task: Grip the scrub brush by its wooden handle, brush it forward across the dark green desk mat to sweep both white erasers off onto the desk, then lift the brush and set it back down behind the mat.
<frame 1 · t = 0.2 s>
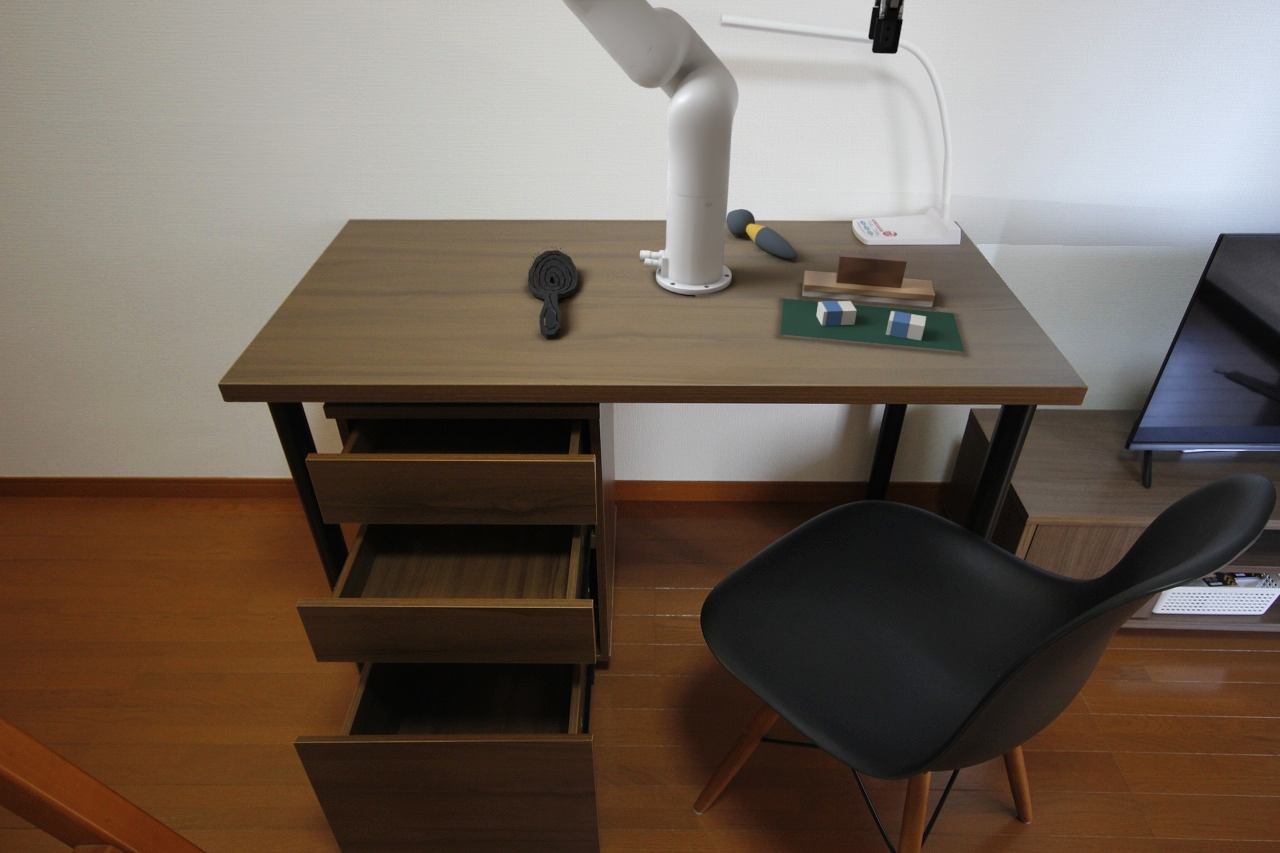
hand: (881, 46, 105), 36 cm above the table, tool pointing down, fingers open, 9 cm apart
eraser right: (904, 332, 115), resting on desk mat
desk mat: (868, 326, 117), on the table
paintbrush: (759, 245, 143), on the table
eraser left: (835, 320, 118), resting on desk mat
scrub brush: (865, 296, 125), on the table
hairbrush: (552, 301, 124), on the table
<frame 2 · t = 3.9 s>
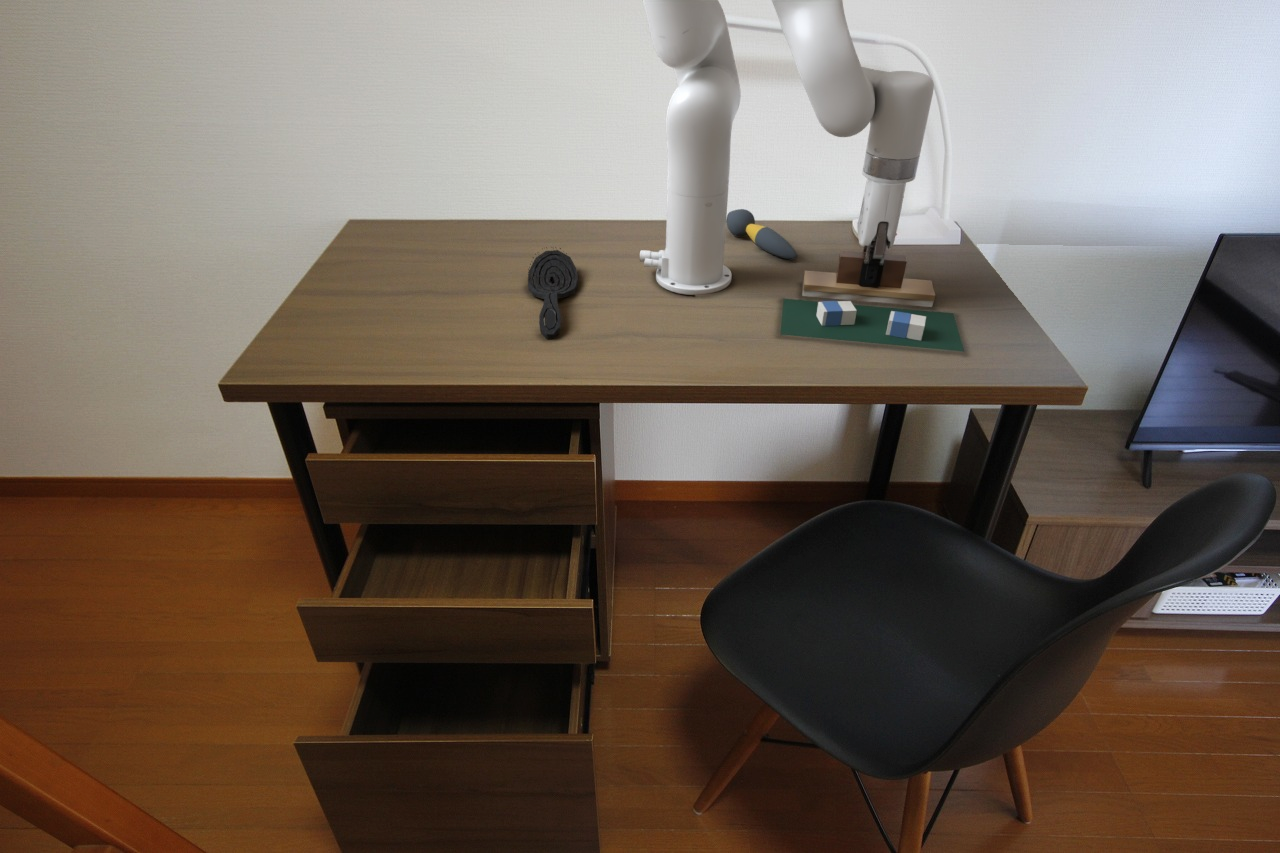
hand: (868, 280, 124), 3 cm above the table, tool pointing down, fingers closed on scrub brush, 2 cm apart
scrub brush: (865, 296, 125), on the table, touching gripper
everything else where it was.
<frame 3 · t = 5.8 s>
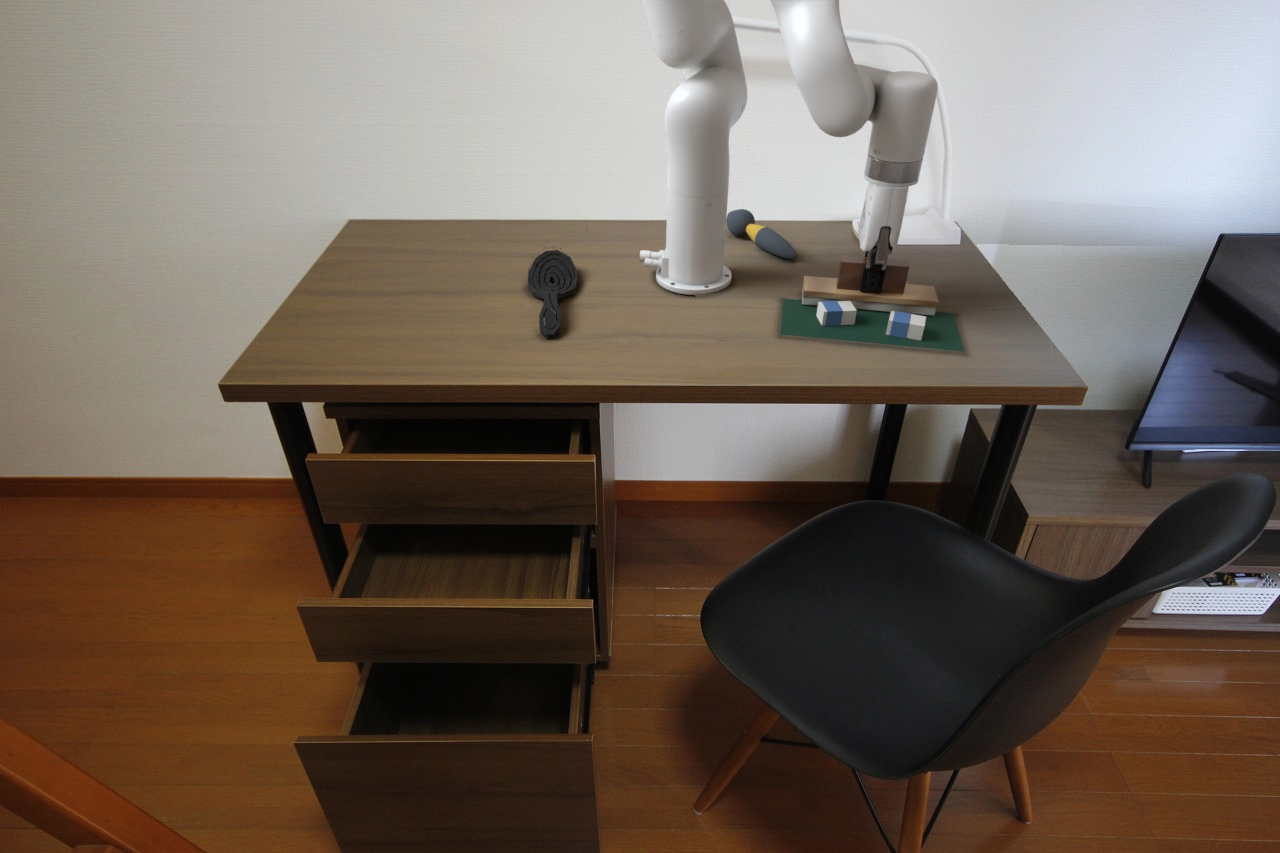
hand: (869, 286, 121), 3 cm above the table, tool pointing down, fingers closed on scrub brush, 2 cm apart
scrub brush: (866, 302, 122), point 1 cm above the table, touching gripper
everything else where it was.
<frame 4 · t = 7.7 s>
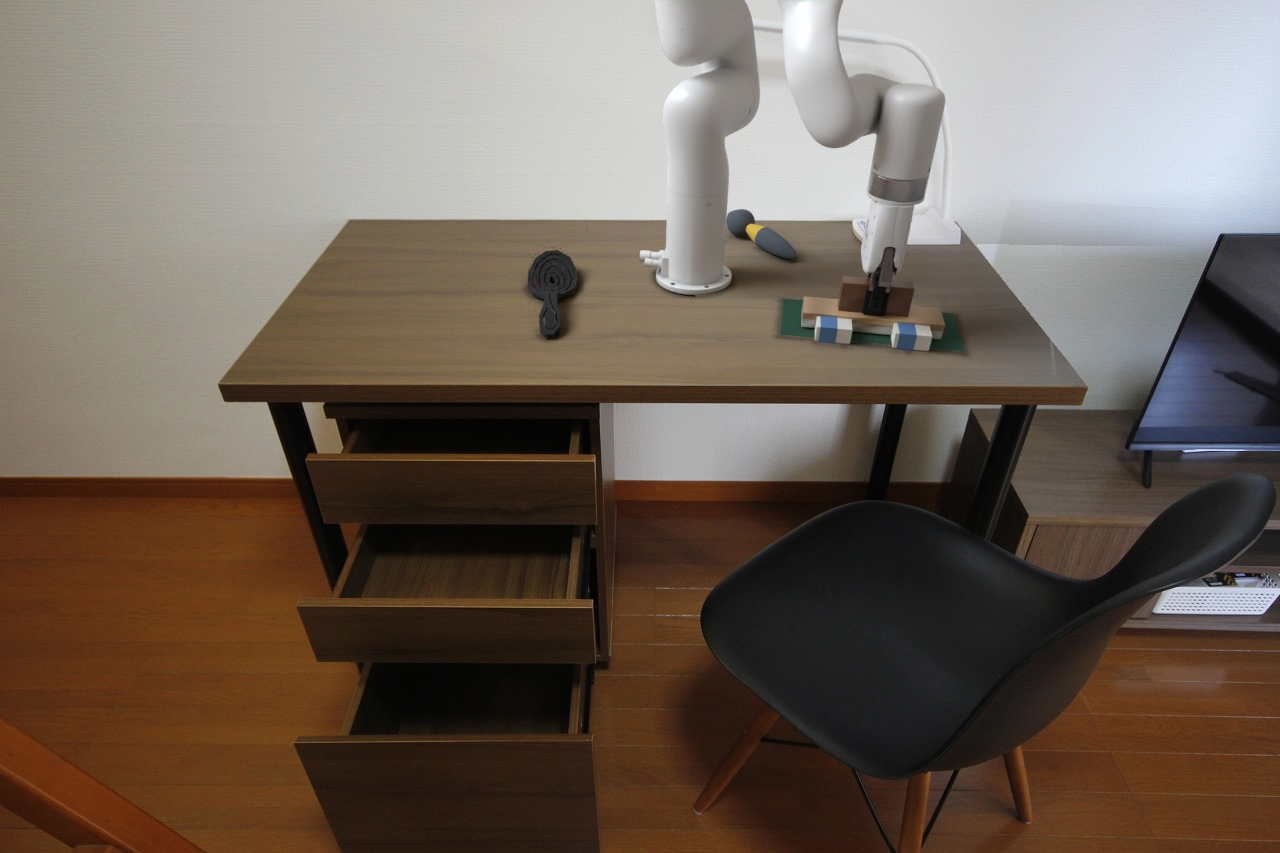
hand: (872, 308, 115), 3 cm above the table, tool pointing down, fingers closed on scrub brush, 2 cm apart
eraser right: (909, 344, 112), on the table
eraser left: (832, 337, 114), on the table, touching desk mat
scrub brush: (869, 325, 116), point 1 cm above the table, touching gripper
everything else where it was.
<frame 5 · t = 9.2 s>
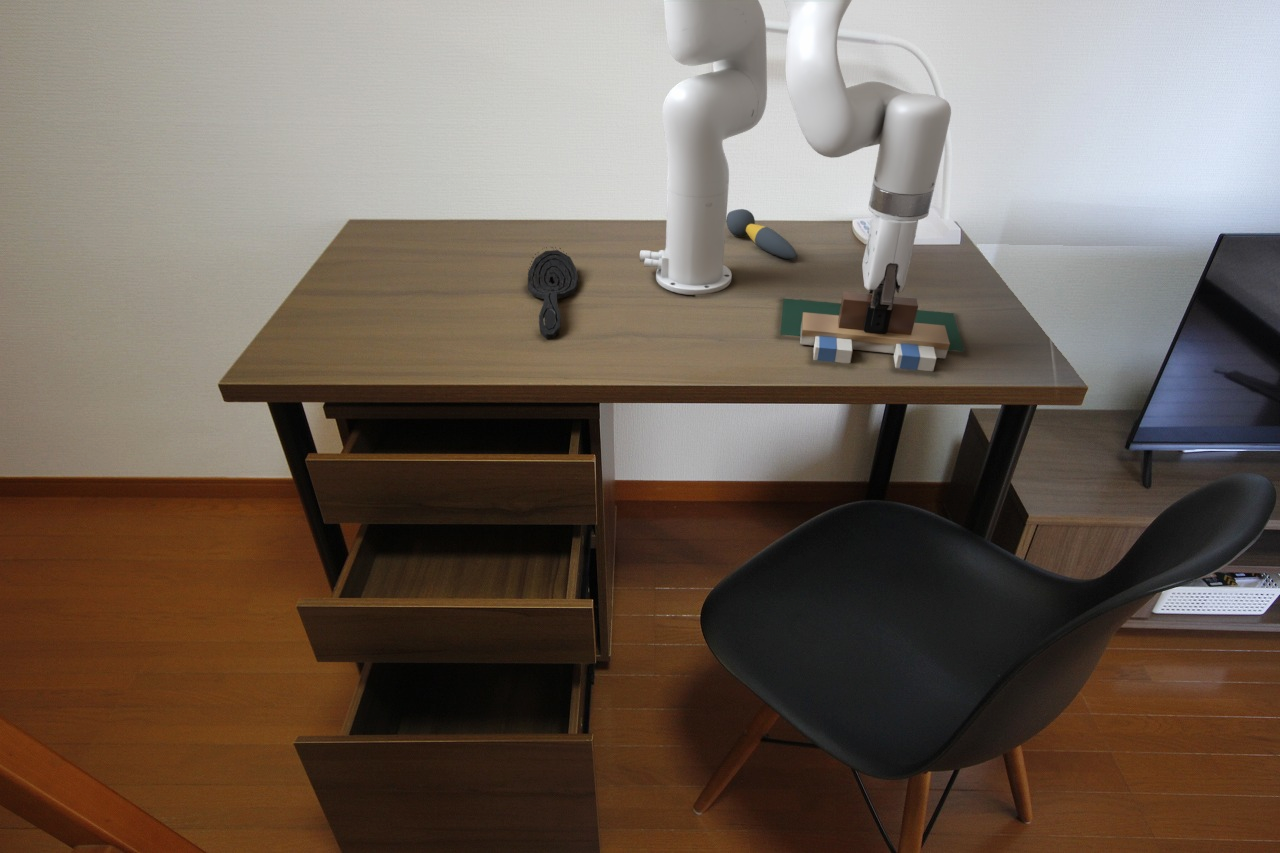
hand: (874, 325, 110), 3 cm above the table, tool pointing down, fingers closed on scrub brush, 2 cm apart
eraser right: (912, 365, 108), on the table, touching scrub brush
eraser left: (831, 358, 110), on the table, touching scrub brush
scrub brush: (870, 342, 112), point 1 cm above the table, touching eraser left, eraser right, gripper
everything else where it was.
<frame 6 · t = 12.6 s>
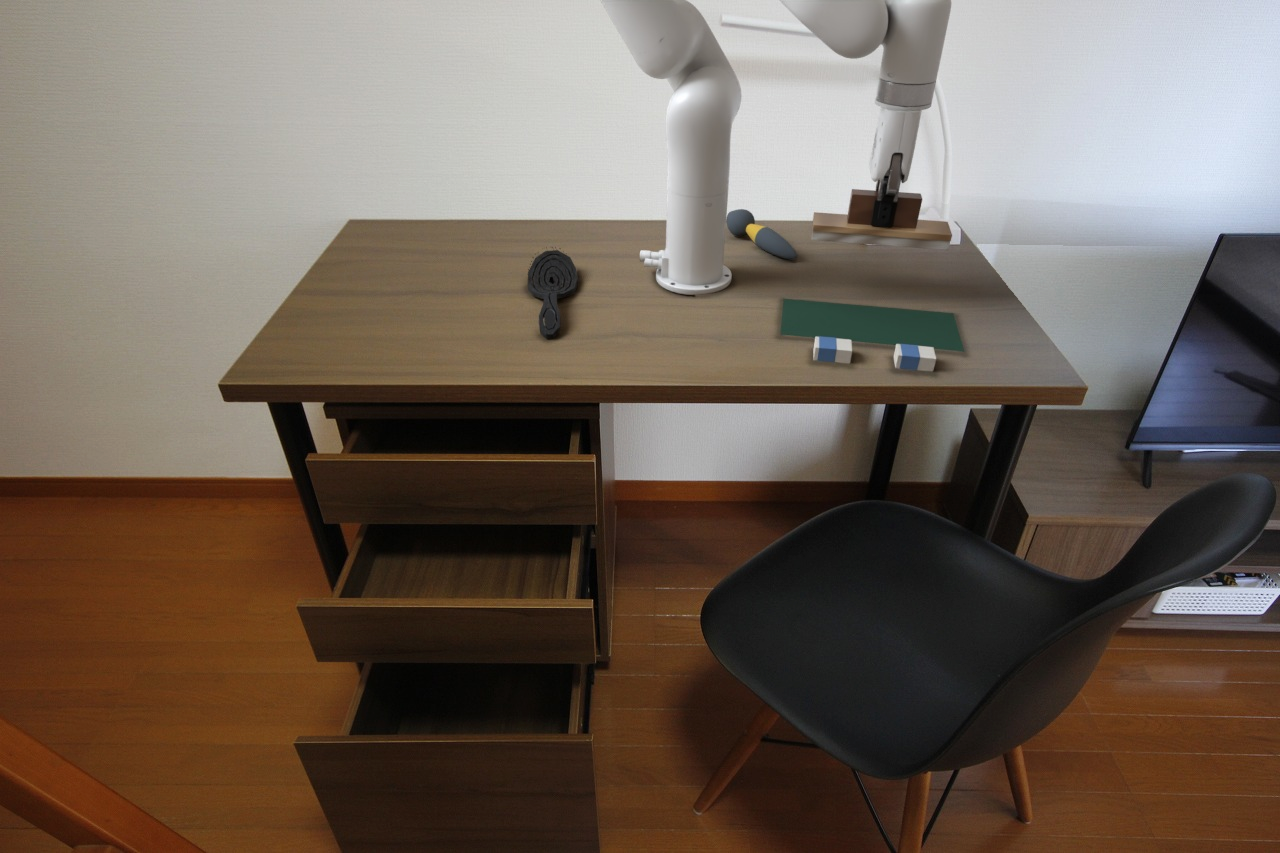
hand: (881, 221, 118), 13 cm above the table, tool pointing down, fingers closed on scrub brush, 2 cm apart
eraser right: (912, 366, 108), on the table
eraser left: (831, 358, 110), on the table
scrub brush: (878, 238, 119), point 10 cm above the table, touching gripper
everything else where it was.
when the fingers open (3 cm above the table, at t = 14.9 s): scrub brush stays where it is, on the table.
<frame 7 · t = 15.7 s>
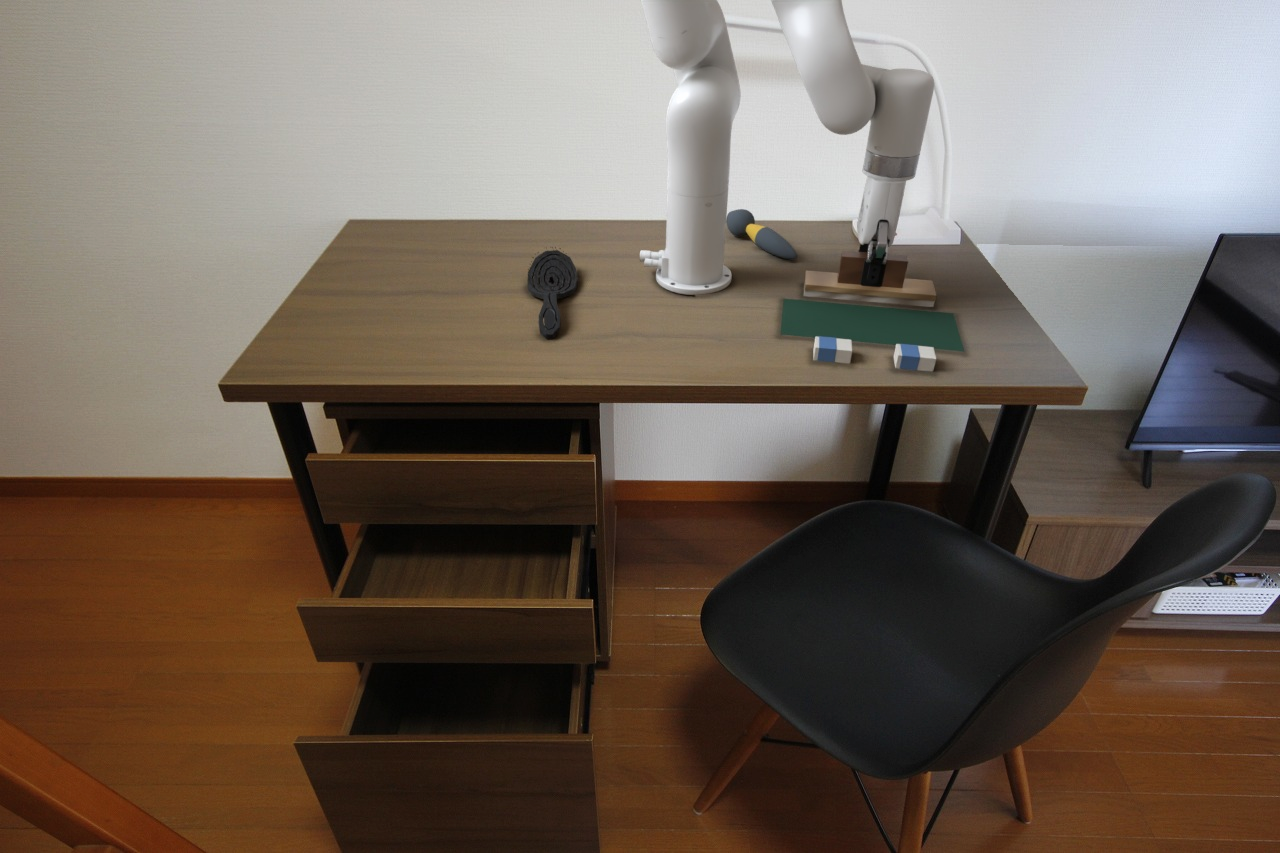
hand: (869, 272, 123), 4 cm above the table, tool pointing down, fingers open, 9 cm apart
scrub brush: (866, 296, 125), on the table
everything else where it was.
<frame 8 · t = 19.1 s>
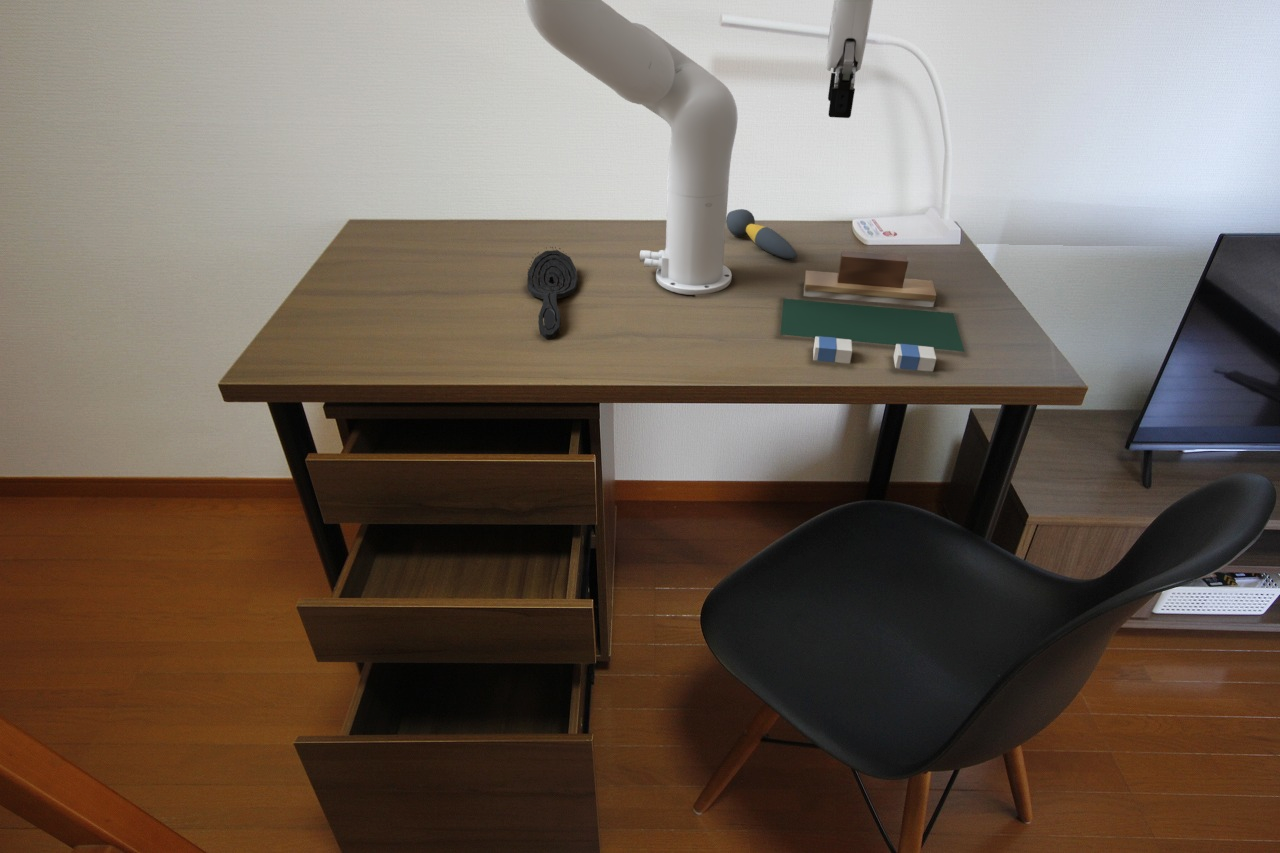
hand: (838, 108, 118), 26 cm above the table, tool pointing down, fingers open, 9 cm apart
nothing on the table moved.
at the end: eraser left inside the target area (6.8 cm from its centre), on the table; eraser right inside the target area (4.6 cm from its centre), on the table; scrub brush inside the target area (0.2 cm from its centre), on the table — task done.
